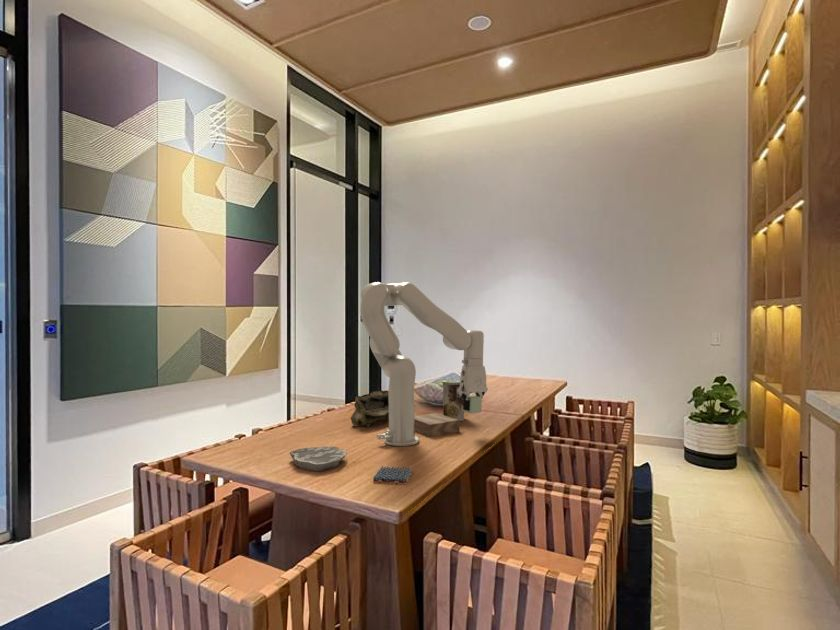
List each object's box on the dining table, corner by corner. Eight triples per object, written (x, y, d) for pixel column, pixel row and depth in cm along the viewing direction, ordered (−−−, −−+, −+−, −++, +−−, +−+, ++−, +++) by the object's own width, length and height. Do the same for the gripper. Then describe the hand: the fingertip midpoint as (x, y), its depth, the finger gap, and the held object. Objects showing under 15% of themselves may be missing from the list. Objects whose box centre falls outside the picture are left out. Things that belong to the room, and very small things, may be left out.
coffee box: (464, 418, 217) (463, 382, 217) (463, 421, 211) (463, 384, 211) (443, 417, 218) (443, 381, 218) (442, 421, 212) (442, 384, 212)
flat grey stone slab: (359, 463, 154) (359, 454, 154) (313, 476, 142) (313, 466, 142) (325, 451, 168) (325, 442, 168) (280, 462, 156) (280, 453, 156)
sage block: (471, 413, 184) (471, 397, 184) (462, 411, 188) (463, 395, 188) (481, 412, 186) (481, 396, 186) (472, 410, 190) (473, 394, 190)
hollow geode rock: (396, 426, 223) (380, 400, 230) (412, 409, 218) (394, 383, 225) (351, 436, 202) (335, 407, 208) (368, 418, 196) (350, 389, 203)
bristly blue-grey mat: (371, 484, 136) (370, 477, 136) (380, 472, 147) (380, 465, 147) (407, 486, 134) (407, 479, 134) (414, 473, 145) (414, 467, 145)
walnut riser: (430, 437, 186) (430, 424, 186) (408, 429, 199) (408, 417, 199) (459, 432, 193) (459, 419, 193) (436, 424, 207) (436, 412, 207)
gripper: (462, 364, 179) (460, 413, 179) (496, 362, 189) (495, 409, 189) (449, 362, 185) (448, 409, 185) (483, 360, 195) (482, 406, 195)
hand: (472, 409), depth 187 cm, fingers closed on sage block, 5 cm apart
